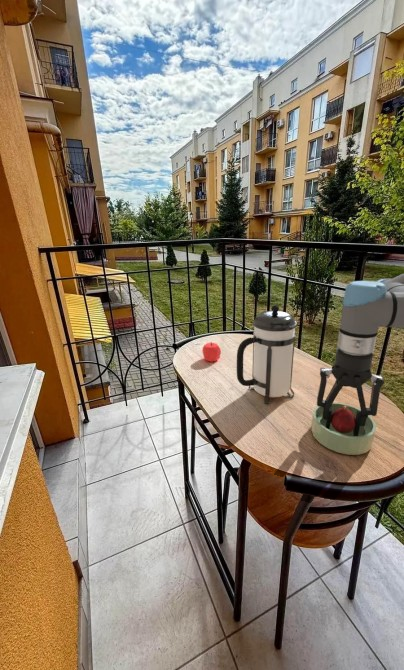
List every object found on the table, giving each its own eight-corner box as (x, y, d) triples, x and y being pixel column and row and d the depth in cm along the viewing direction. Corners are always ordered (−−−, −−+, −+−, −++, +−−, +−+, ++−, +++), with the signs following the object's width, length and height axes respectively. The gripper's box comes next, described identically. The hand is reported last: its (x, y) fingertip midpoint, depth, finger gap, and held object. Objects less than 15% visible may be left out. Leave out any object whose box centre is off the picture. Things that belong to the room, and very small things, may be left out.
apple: (198, 358, 120) (197, 341, 117) (213, 354, 124) (213, 337, 121) (209, 365, 114) (208, 347, 111) (224, 360, 118) (224, 342, 115)
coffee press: (253, 377, 103) (255, 297, 93) (298, 386, 96) (306, 301, 86) (235, 401, 89) (235, 311, 79) (286, 415, 82) (294, 316, 71)
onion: (356, 441, 69) (362, 414, 67) (332, 439, 70) (336, 412, 67) (349, 426, 75) (353, 400, 72) (326, 424, 76) (330, 399, 73)
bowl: (367, 425, 76) (371, 408, 74) (376, 463, 64) (380, 444, 62) (312, 414, 82) (314, 398, 80) (310, 448, 69) (312, 430, 67)
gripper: (310, 351, 64) (301, 432, 73) (407, 362, 58) (386, 451, 66) (311, 339, 71) (303, 415, 79) (399, 348, 64) (380, 430, 72)
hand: (341, 431), depth 72 cm, fingers closed on onion, 6 cm apart
